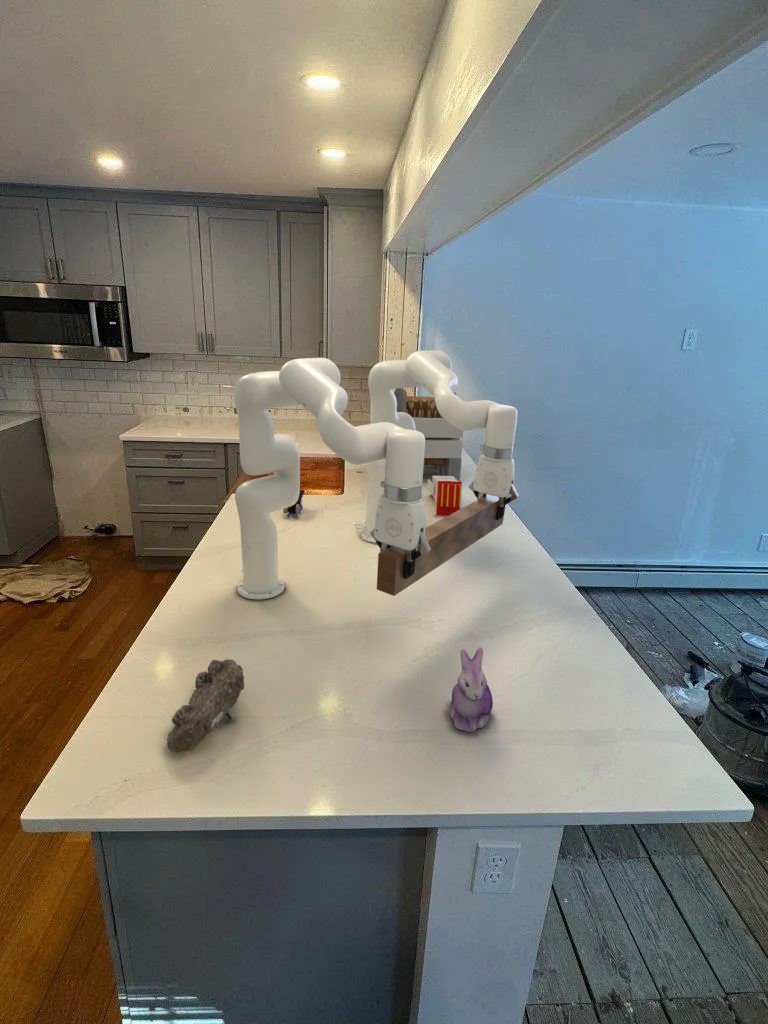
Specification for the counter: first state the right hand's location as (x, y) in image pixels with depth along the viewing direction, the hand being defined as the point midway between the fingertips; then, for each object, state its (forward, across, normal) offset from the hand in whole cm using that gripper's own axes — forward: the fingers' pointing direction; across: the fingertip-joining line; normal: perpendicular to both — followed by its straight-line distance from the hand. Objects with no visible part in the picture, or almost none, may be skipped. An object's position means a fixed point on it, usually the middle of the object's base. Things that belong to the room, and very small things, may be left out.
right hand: (490, 515), depth 157 cm
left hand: (0, 0, -47) cm, 47 cm away
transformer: (+23, -76, +90) cm, 120 cm away
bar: (+3, 0, -23) cm, 24 cm away
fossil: (+22, -16, -84) cm, 88 cm away
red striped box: (+22, -44, +56) cm, 75 cm away
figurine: (+22, +23, -53) cm, 62 cm away
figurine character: (+23, -83, +9) cm, 86 cm away
